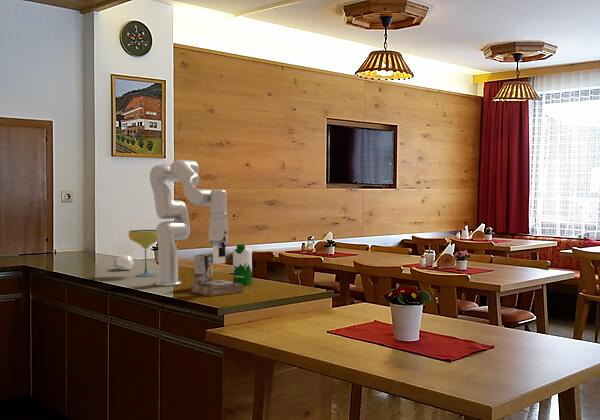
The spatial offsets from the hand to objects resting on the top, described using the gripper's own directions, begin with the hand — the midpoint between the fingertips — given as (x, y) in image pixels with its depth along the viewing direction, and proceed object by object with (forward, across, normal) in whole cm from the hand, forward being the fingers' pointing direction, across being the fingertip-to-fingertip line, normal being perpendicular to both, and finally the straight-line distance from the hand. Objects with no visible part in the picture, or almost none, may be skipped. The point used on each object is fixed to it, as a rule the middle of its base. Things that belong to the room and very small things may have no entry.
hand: (219, 255), depth 309 cm
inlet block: (+17, 0, 0) cm, 17 cm away
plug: (+3, 0, 0) cm, 3 cm away
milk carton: (+17, -13, +23) cm, 31 cm away
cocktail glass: (+17, -79, +5) cm, 81 cm away
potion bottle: (+17, -114, +9) cm, 116 cm away
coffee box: (+17, -16, +2) cm, 23 cm away
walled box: (+17, 0, -1) cm, 17 cm away
